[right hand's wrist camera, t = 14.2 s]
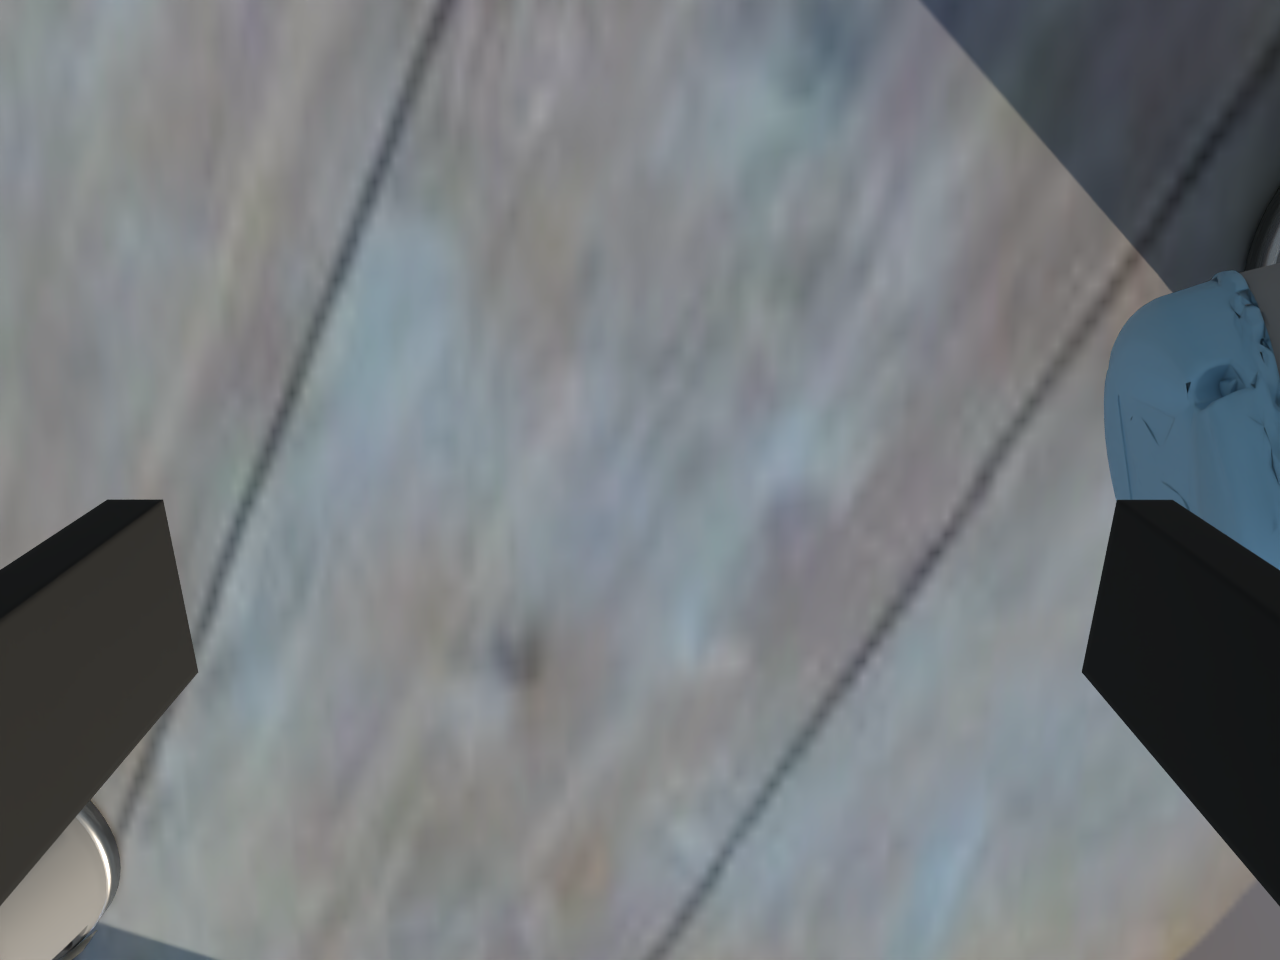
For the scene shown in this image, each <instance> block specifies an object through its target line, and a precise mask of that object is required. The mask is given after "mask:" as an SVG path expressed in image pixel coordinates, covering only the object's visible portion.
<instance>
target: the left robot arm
mask: <svg viewBox="0 0 1280 960" xmlns="http://www.w3.org/2000/svg"><path fill="white" fill-rule="evenodd" d="M1104 423H1105V439H1106V447H1107V455H1108V462H1109V468H1110V473H1111V479H1112V484H1113V488H1114V493H1115V497H1116V501H1117V500H1174V501H1175V502H1177V503H1178V504H1180V505H1181V506H1183V507H1184V508H1186V509H1188V510H1189V511H1191V512H1192V513H1194V514H1195V515H1197V516H1198V517H1200V518H1201V519H1203V520H1204V521H1206V522H1207V523H1209V524H1210V525H1212V526H1213V527H1215V528H1216V529H1218V530H1219V531H1221V532H1222V533H1224V534H1226V535H1227V536H1229V537H1230V538H1232V539H1233V540H1235V541H1236V542H1238V543H1239V544H1241V545H1242V546H1244V547H1245V548H1247V549H1248V550H1250V551H1251V552H1253V553H1254V554H1256V555H1257V556H1259V557H1260V558H1262V559H1264V560H1265V561H1267V562H1268V563H1270V564H1271V565H1273V566H1274V567H1276V568H1277V569H1279V570H1280V188H1279V190H1278V191H1277V193H1276V194H1275V196H1274V198H1273V199H1272V201H1271V202H1270V204H1269V206H1268V208H1267V210H1266V212H1265V214H1264V216H1263V218H1262V219H1261V222H1260V224H1259V227H1258V229H1257V231H1256V234H1255V236H1254V239H1253V242H1252V245H1251V248H1250V252H1249V255H1248V260H1247V264H1246V268H1245V271H1244V272H1240V273H1238V272H1236V271H1235V270H1230V271H1223V272H1219V273H1217V274H1215V275H1214V276H1213V278H1212V279H1211V280H1210V281H1208V282H1204V283H1201V284H1198V285H1195V286H1192V287H1189V288H1186V289H1183V290H1180V291H1177V292H1174V293H1171V294H1168V295H1165V296H1162V297H1159V298H1156V299H1154V300H1152V301H1151V302H1149V303H1147V304H1145V305H1144V306H1143V307H1141V308H1140V309H1139V310H1138V311H1136V312H1135V313H1134V314H1133V315H1132V316H1131V317H1130V318H1129V320H1128V321H1127V322H1126V324H1125V325H1124V326H1123V328H1122V330H1121V331H1120V333H1119V335H1118V337H1117V339H1116V341H1115V343H1114V346H1113V348H1112V351H1111V356H1110V361H1109V369H1108V371H1107V375H1106V381H1105V391H1104Z"/></svg>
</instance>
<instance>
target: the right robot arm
mask: <svg viewBox="0 0 1280 960" xmlns="http://www.w3.org/2000/svg"><path fill="white" fill-rule="evenodd" d="M197 673H198V669H197V664H196V659H195V654H194V649H193V644H192V639H191V634H190V630H189V625H188V620H187V615H186V610H185V605H184V600H183V595H182V590H181V585H180V581H179V576H178V571H177V566H176V561H175V556H174V551H173V546H172V541H171V536H170V532H169V527H168V522H167V517H166V512H165V507H164V502H163V500H106V501H105V502H103V503H102V504H100V505H99V506H97V507H96V508H94V509H92V510H91V511H89V512H88V513H86V514H85V515H83V516H82V517H80V518H79V519H77V520H76V521H74V522H73V523H71V524H70V525H68V526H67V527H65V528H64V529H62V530H61V531H59V532H58V533H56V534H54V535H53V536H51V537H50V538H48V539H47V540H45V541H44V542H42V543H41V544H39V545H38V546H36V547H35V548H33V549H32V550H30V551H29V552H27V553H26V554H24V555H23V556H21V557H20V558H18V559H16V560H15V561H13V562H12V563H10V564H9V565H7V566H6V567H4V568H3V569H1V570H0V960H58V959H60V958H61V957H63V956H64V955H65V956H64V957H63V958H62V959H61V960H72V959H73V958H75V957H76V956H77V955H78V954H80V953H81V952H82V951H83V950H84V948H85V947H86V945H87V944H88V942H89V941H90V940H91V938H92V937H93V935H94V934H95V932H96V931H97V930H98V929H97V930H96V931H95V932H94V933H92V934H91V935H90V936H89V937H88V938H86V939H85V940H84V941H83V942H81V941H82V940H83V939H84V938H85V936H87V935H88V934H89V932H90V931H91V930H92V929H93V928H94V927H95V925H96V924H97V922H98V921H99V919H100V918H101V917H102V915H103V914H104V912H105V911H106V909H107V908H108V907H109V905H110V904H111V902H112V900H113V898H114V896H115V894H116V891H117V888H118V884H119V879H120V857H119V852H118V848H117V844H116V841H115V838H114V836H113V834H112V832H111V829H110V827H109V826H108V824H107V822H106V821H105V819H104V817H103V816H102V815H101V813H100V812H99V810H98V809H97V808H96V807H95V805H94V804H93V803H92V802H91V801H90V799H91V798H92V797H93V796H94V795H95V794H96V792H97V791H98V790H99V789H100V788H101V786H102V785H103V784H104V783H105V782H106V781H107V779H108V778H109V777H110V776H111V775H112V773H113V772H114V771H115V770H116V769H117V768H118V766H119V765H120V764H121V763H122V762H123V760H124V759H125V758H126V757H127V756H128V755H129V753H130V752H131V751H132V750H133V749H134V747H135V746H136V745H137V744H138V743H139V742H140V740H141V739H142V738H143V737H144V736H145V734H146V733H147V732H148V731H149V730H150V729H151V727H152V726H153V725H154V724H155V723H156V721H157V720H158V719H159V718H160V717H161V716H162V714H163V713H164V712H165V711H166V710H167V708H168V707H169V706H170V705H171V704H172V702H173V701H174V700H175V699H176V698H177V697H178V695H179V694H180V693H181V692H182V691H183V689H184V688H185V687H186V686H187V685H188V684H189V682H190V681H191V680H192V679H193V678H194V676H195V675H196V674H197ZM1082 673H1083V674H1084V675H1085V676H1086V678H1087V679H1088V680H1089V681H1090V682H1091V684H1092V685H1093V686H1094V687H1095V688H1096V689H1097V691H1098V692H1099V693H1100V694H1101V695H1102V697H1103V698H1104V699H1105V700H1106V701H1107V702H1108V704H1109V705H1110V706H1111V707H1112V708H1113V710H1114V711H1115V712H1116V713H1117V714H1118V716H1119V717H1120V718H1121V719H1122V720H1123V721H1124V723H1125V724H1126V725H1127V726H1128V727H1129V729H1130V730H1131V731H1132V732H1133V733H1134V734H1135V736H1136V737H1137V738H1138V739H1139V740H1140V742H1141V743H1142V744H1143V745H1144V746H1145V747H1146V749H1147V750H1148V751H1149V752H1150V753H1151V755H1152V756H1153V757H1154V758H1155V759H1156V760H1157V762H1158V763H1159V764H1160V765H1161V766H1162V768H1163V769H1164V770H1165V771H1166V772H1167V773H1168V775H1169V776H1170V777H1171V778H1172V779H1173V781H1174V782H1175V783H1176V784H1177V785H1178V786H1179V788H1180V789H1181V790H1182V791H1183V792H1184V794H1185V795H1186V796H1187V797H1188V798H1189V799H1190V801H1191V802H1192V803H1193V804H1194V805H1195V807H1196V808H1197V809H1198V810H1199V811H1200V813H1201V814H1202V815H1203V816H1204V817H1205V818H1206V820H1207V821H1208V822H1209V823H1210V824H1211V826H1212V827H1213V828H1214V829H1215V830H1216V831H1217V833H1218V834H1219V835H1220V836H1221V837H1222V839H1223V840H1224V841H1225V842H1226V843H1227V844H1228V846H1229V847H1230V848H1231V849H1232V850H1233V852H1234V853H1235V854H1236V855H1237V856H1238V857H1239V859H1240V860H1241V861H1242V862H1243V863H1244V865H1245V866H1246V867H1247V868H1248V869H1249V870H1250V872H1251V873H1252V874H1253V875H1254V876H1255V878H1256V879H1257V880H1258V881H1259V882H1260V883H1261V885H1262V886H1263V887H1264V888H1265V889H1266V891H1267V892H1268V893H1269V894H1270V895H1271V896H1272V898H1273V899H1274V900H1275V901H1276V902H1277V904H1278V905H1279V906H1280V570H1279V569H1277V568H1276V567H1274V566H1273V565H1271V564H1270V563H1268V562H1267V561H1265V560H1264V559H1262V558H1260V557H1259V556H1257V555H1256V554H1254V553H1253V552H1251V551H1250V550H1248V549H1247V548H1245V547H1244V546H1242V545H1241V544H1239V543H1238V542H1236V541H1235V540H1233V539H1232V538H1230V537H1229V536H1227V535H1226V534H1224V533H1222V532H1221V531H1219V530H1218V529H1216V528H1215V527H1213V526H1212V525H1210V524H1209V523H1207V522H1206V521H1204V520H1203V519H1201V518H1200V517H1198V516H1197V515H1195V514H1194V513H1192V512H1191V511H1189V510H1188V509H1186V508H1184V507H1183V506H1181V505H1180V504H1178V503H1177V502H1175V501H1174V500H1117V502H1116V507H1115V512H1114V517H1113V522H1112V527H1111V532H1110V536H1109V541H1108V546H1107V551H1106V556H1105V561H1104V566H1103V571H1102V576H1101V581H1100V585H1099V590H1098V595H1097V600H1096V605H1095V610H1094V615H1093V620H1092V625H1091V630H1090V634H1089V639H1088V644H1087V649H1086V654H1085V659H1084V664H1083V669H1082ZM80 942H81V943H80ZM79 943H80V944H79ZM78 944H79V945H78ZM77 945H78V946H77ZM76 946H77V947H76ZM74 947H75V948H74ZM73 948H74V949H73ZM72 949H73V950H72ZM71 950H72V951H71ZM69 951H70V952H69ZM68 952H69V953H68ZM67 953H68V954H67ZM66 954H67V955H66Z"/></svg>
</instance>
